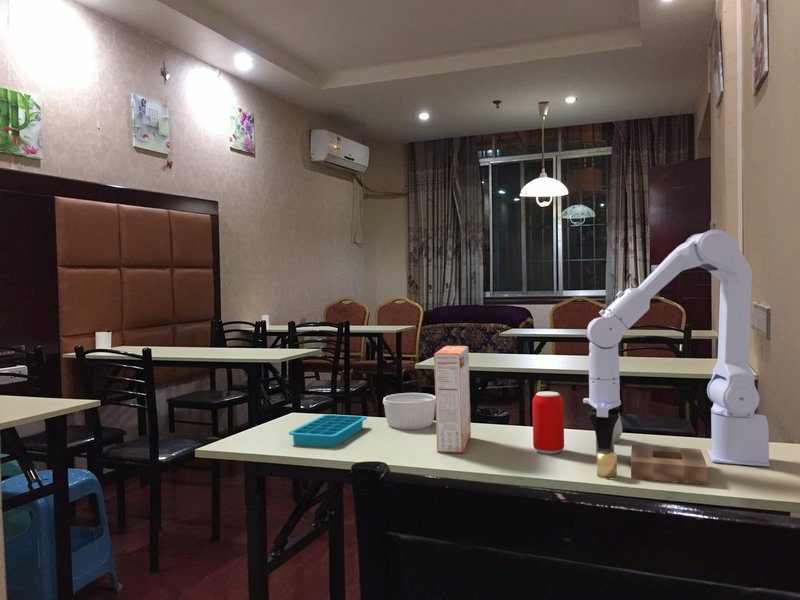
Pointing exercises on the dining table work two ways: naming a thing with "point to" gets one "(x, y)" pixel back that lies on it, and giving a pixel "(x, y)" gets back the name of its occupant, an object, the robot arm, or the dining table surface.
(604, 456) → the short pin
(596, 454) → the long pin
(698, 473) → the hole block
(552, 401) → the beverage can
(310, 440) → the ice cube tray
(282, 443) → the dining table surface
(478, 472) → the dining table surface
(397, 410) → the ramekin
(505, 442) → the dining table surface
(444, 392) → the cracker box
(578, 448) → the dining table surface
